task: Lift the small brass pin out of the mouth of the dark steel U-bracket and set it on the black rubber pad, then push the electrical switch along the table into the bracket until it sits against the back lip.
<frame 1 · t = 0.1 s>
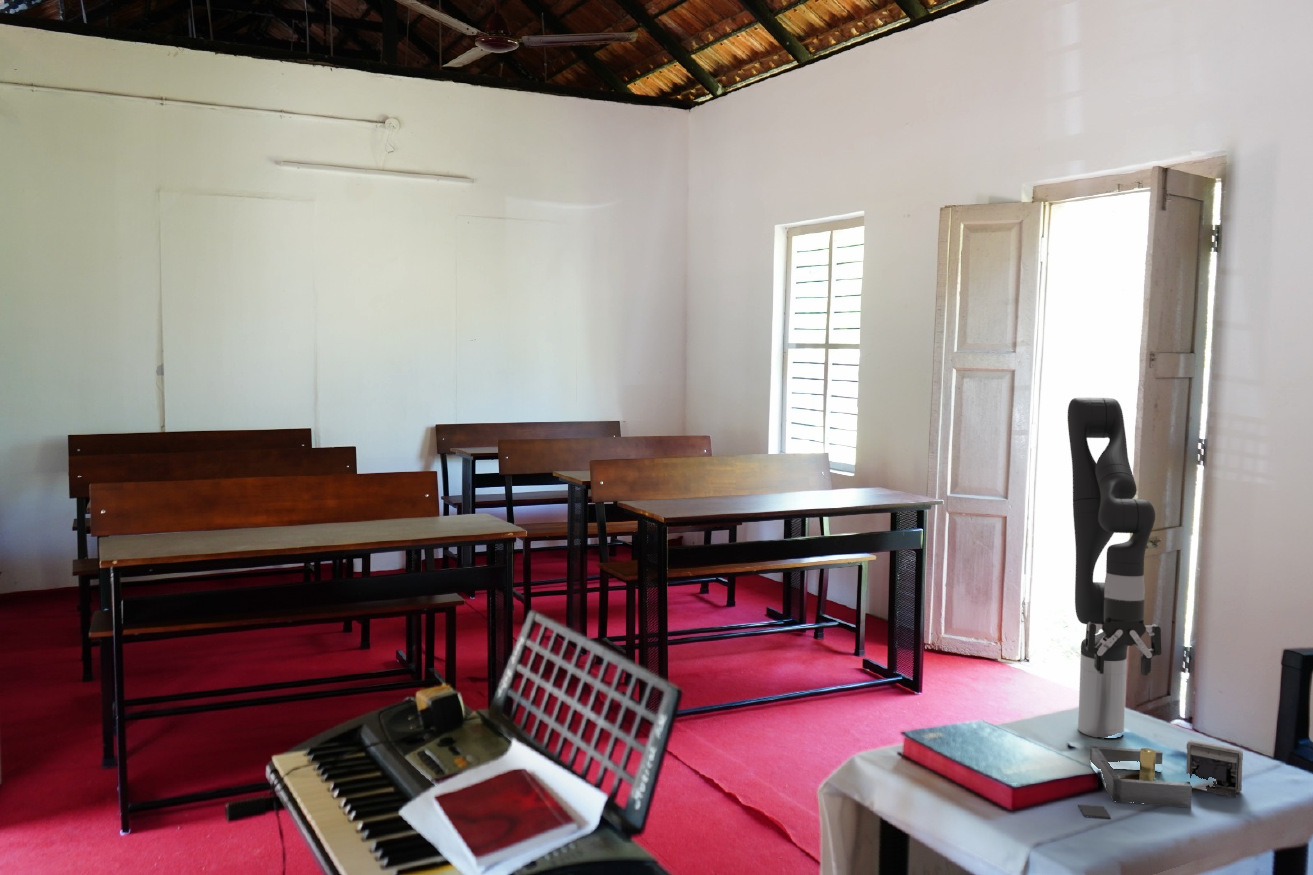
hand: (1122, 673, 207), 17 cm above the table, tool pointing down, fingers open, 8 cm apart
pad: (1094, 812, 181), on the table
bracket: (1141, 785, 193), on the table
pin: (1146, 786, 193), on the table
electrical switch: (1214, 792, 191), on the table
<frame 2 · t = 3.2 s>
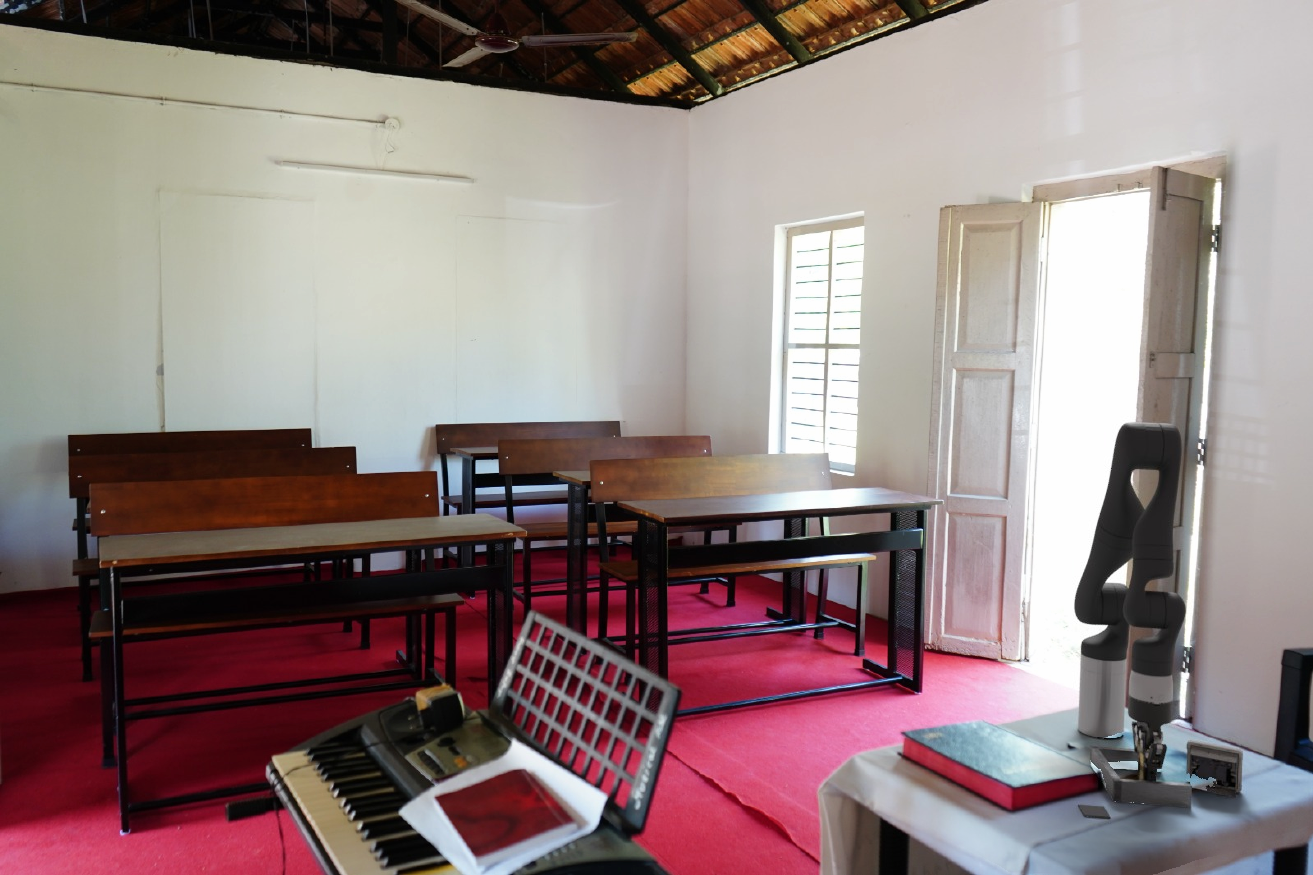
hand: (1146, 782, 193), 1 cm above the table, tool pointing down, fingers closed on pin, 2 cm apart
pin: (1146, 786, 193), on the table, touching gripper
everything else where it was.
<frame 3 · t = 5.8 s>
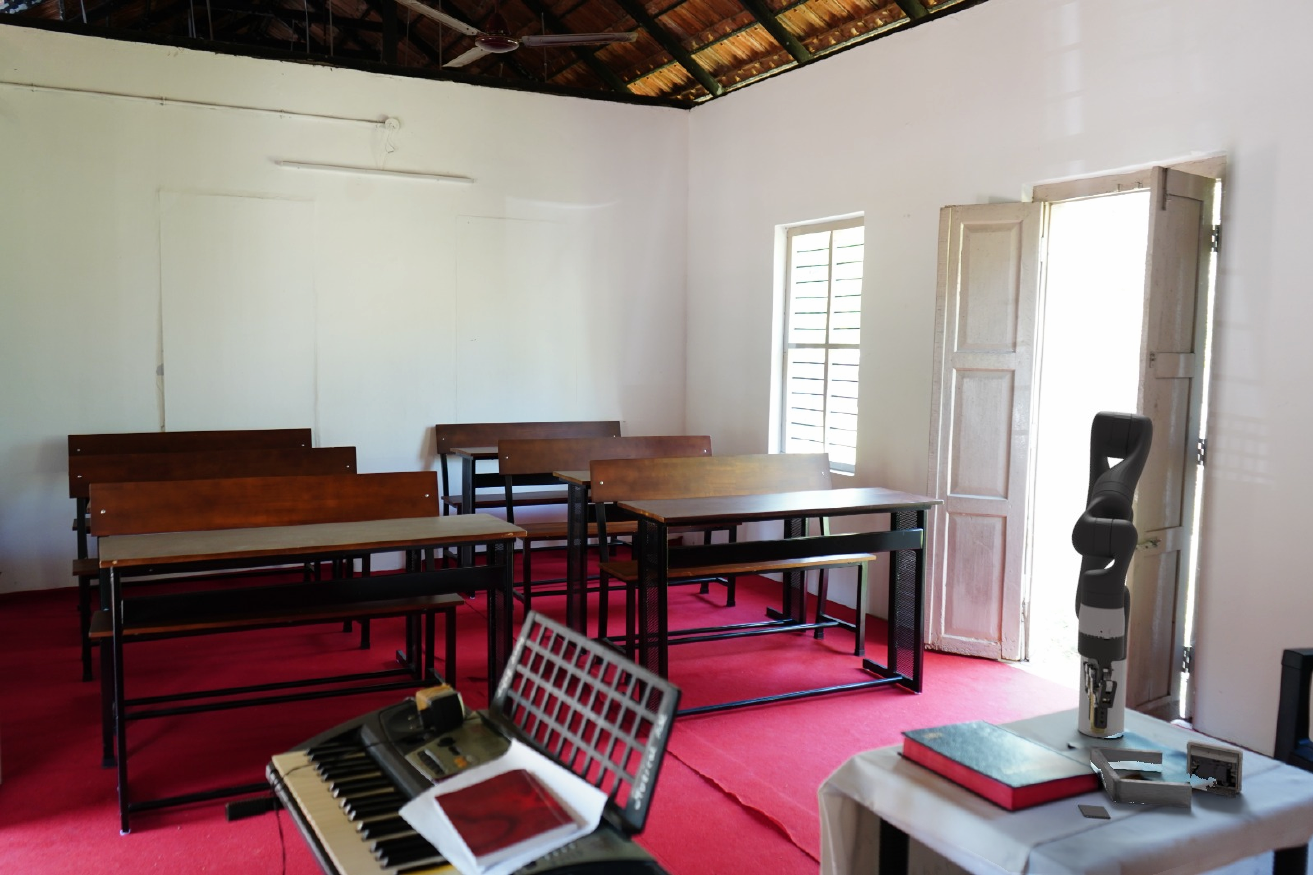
hand: (1097, 724, 180), 16 cm above the table, tool pointing down, fingers closed on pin, 2 cm apart
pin: (1097, 731, 180), point 15 cm above the table, touching gripper
everything else where it was.
when the fingers open (2 cm above the table, at t = 8.5 s): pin stays where it is, resting on pad.
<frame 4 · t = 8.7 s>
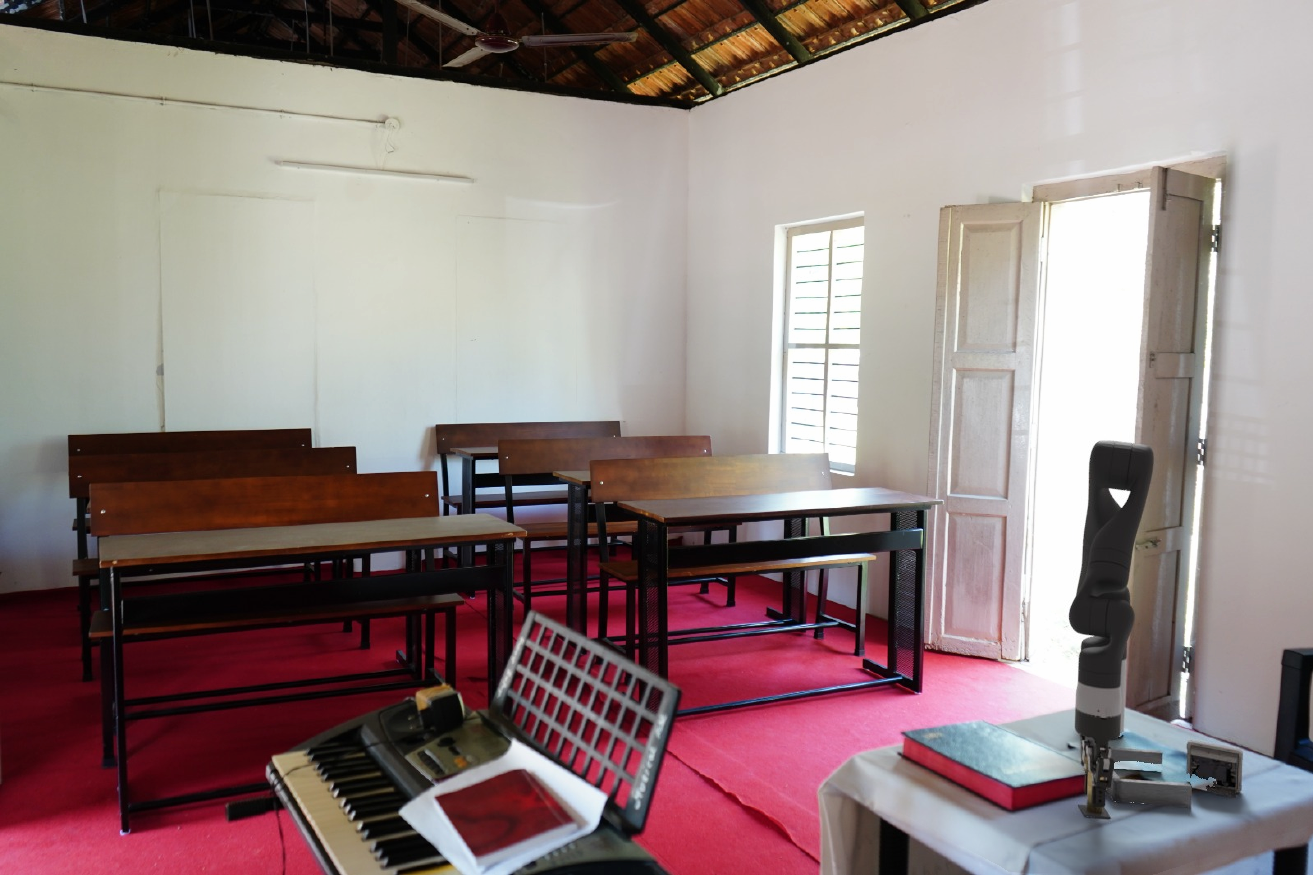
hand: (1094, 800, 181), 2 cm above the table, tool pointing down, fingers open, 4 cm apart
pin: (1094, 810, 181), resting on pad
everything else where it was.
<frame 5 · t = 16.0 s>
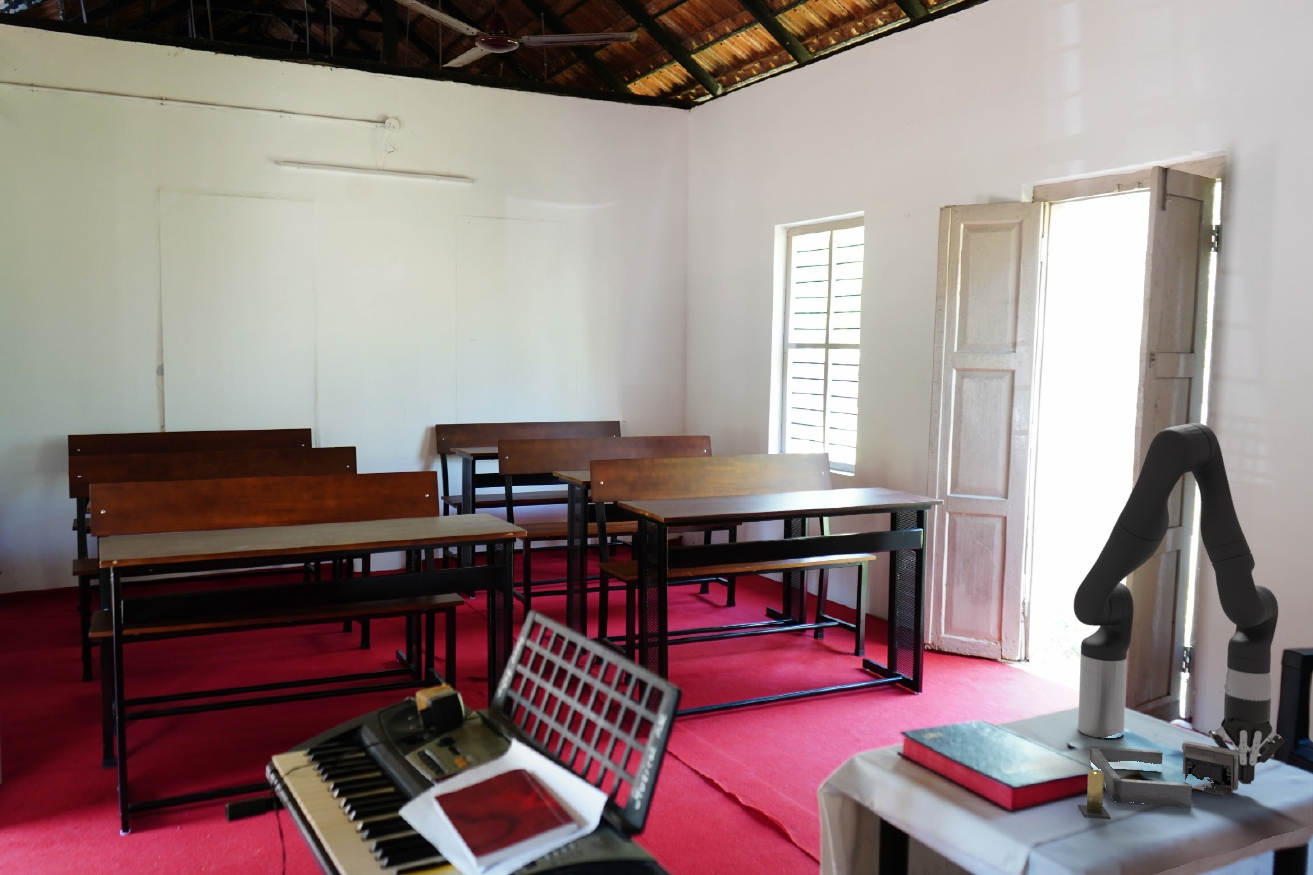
hand: (1244, 782, 190), 2 cm above the table, tool pointing down, fingers closed
electrical switch: (1210, 791, 191), on the table, touching gripper
everything else where it was.
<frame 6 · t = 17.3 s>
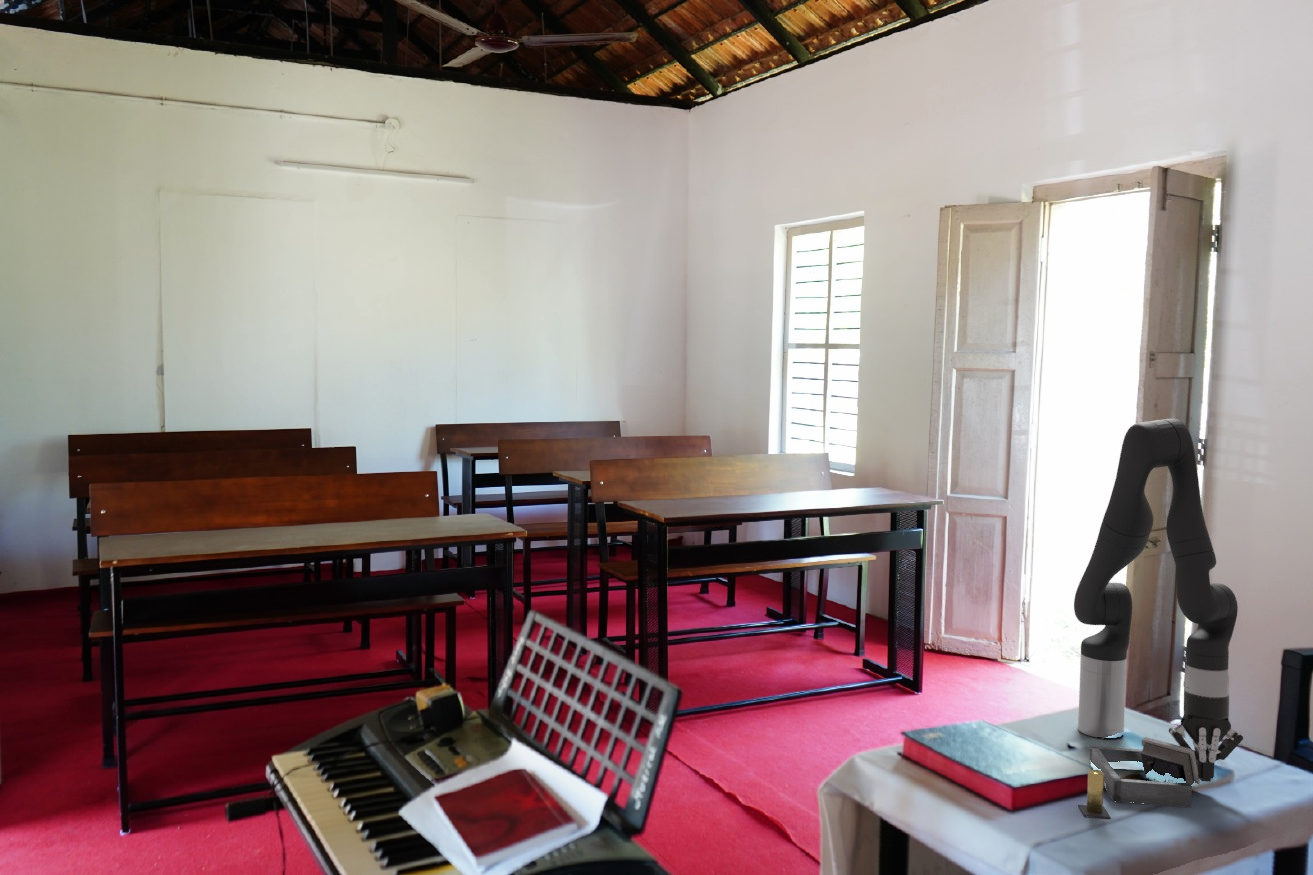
hand: (1204, 779, 190), 2 cm above the table, tool pointing down, fingers closed
electrical switch: (1170, 786, 192), on the table, touching gripper
everything else where it was.
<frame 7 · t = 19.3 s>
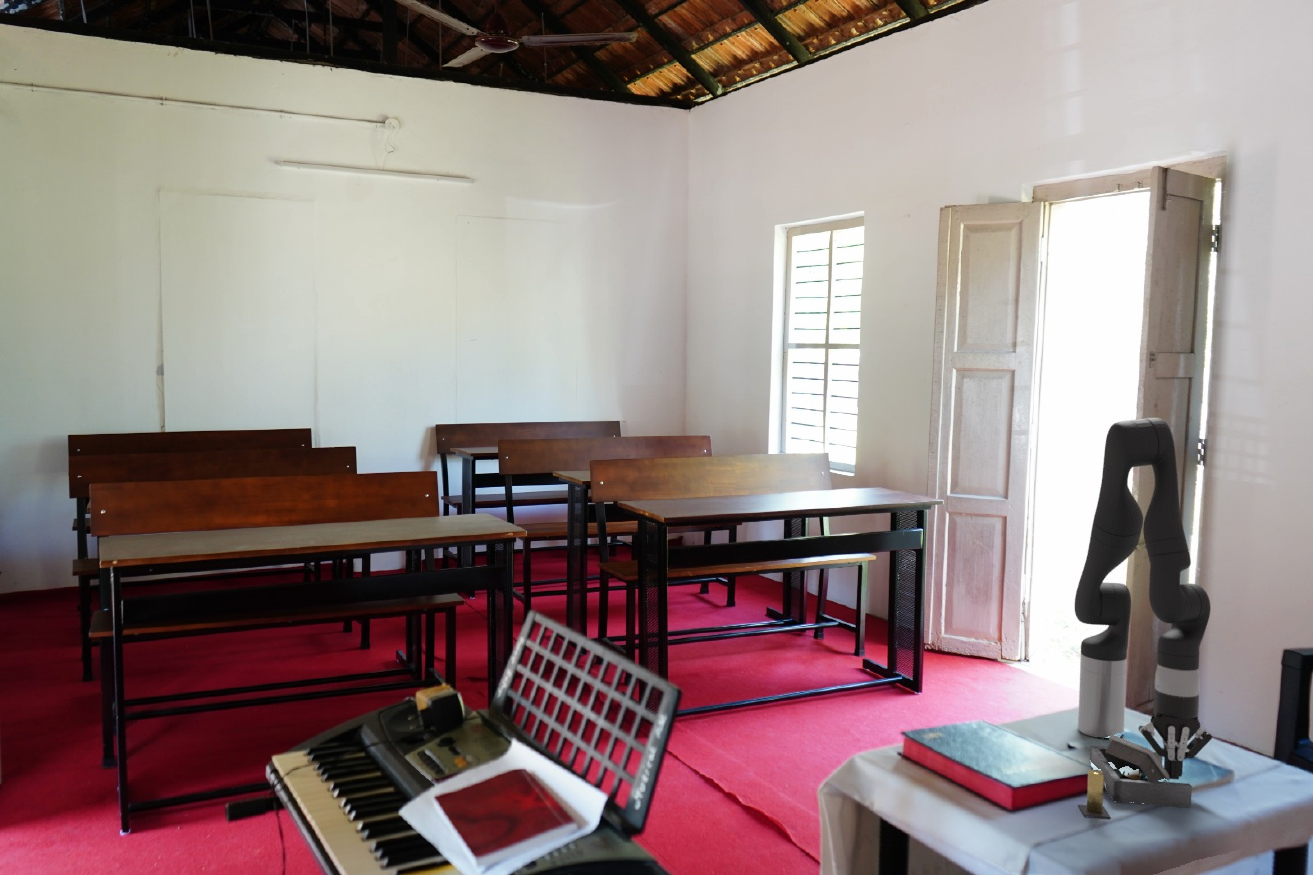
hand: (1173, 777, 192), 2 cm above the table, tool pointing down, fingers closed
electrical switch: (1143, 781, 194), on the table, touching gripper
everything else where it was.
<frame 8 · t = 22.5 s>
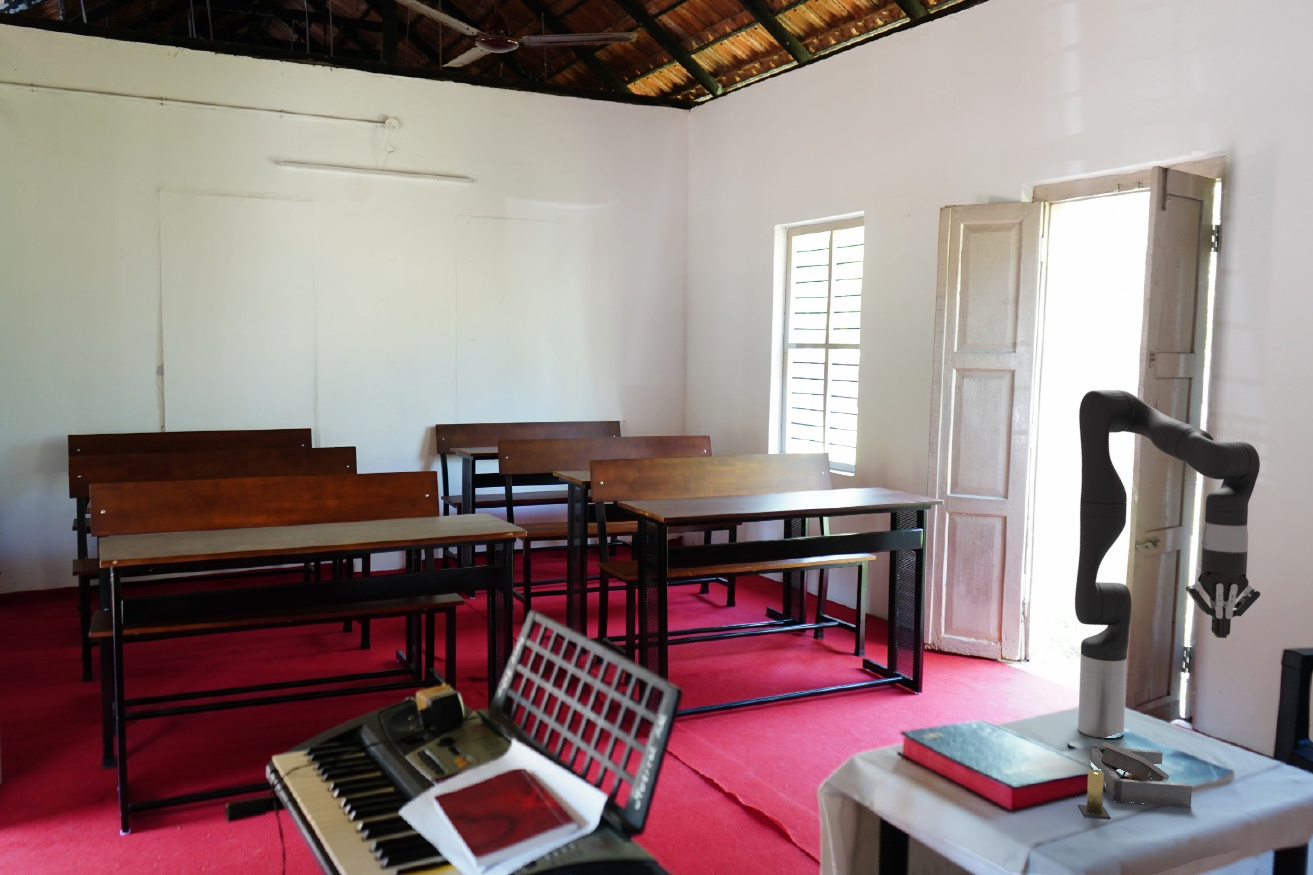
hand: (1220, 636, 191), 29 cm above the table, tool pointing down, fingers closed
electrical switch: (1144, 780, 194), on the table
everything else where it was.
at the end: electrical switch inside the target area (2.2 cm from its centre), point 0.5 cm above the table; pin 0.1 cm from the pad (horizontally); the gripper is holding nothing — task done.
